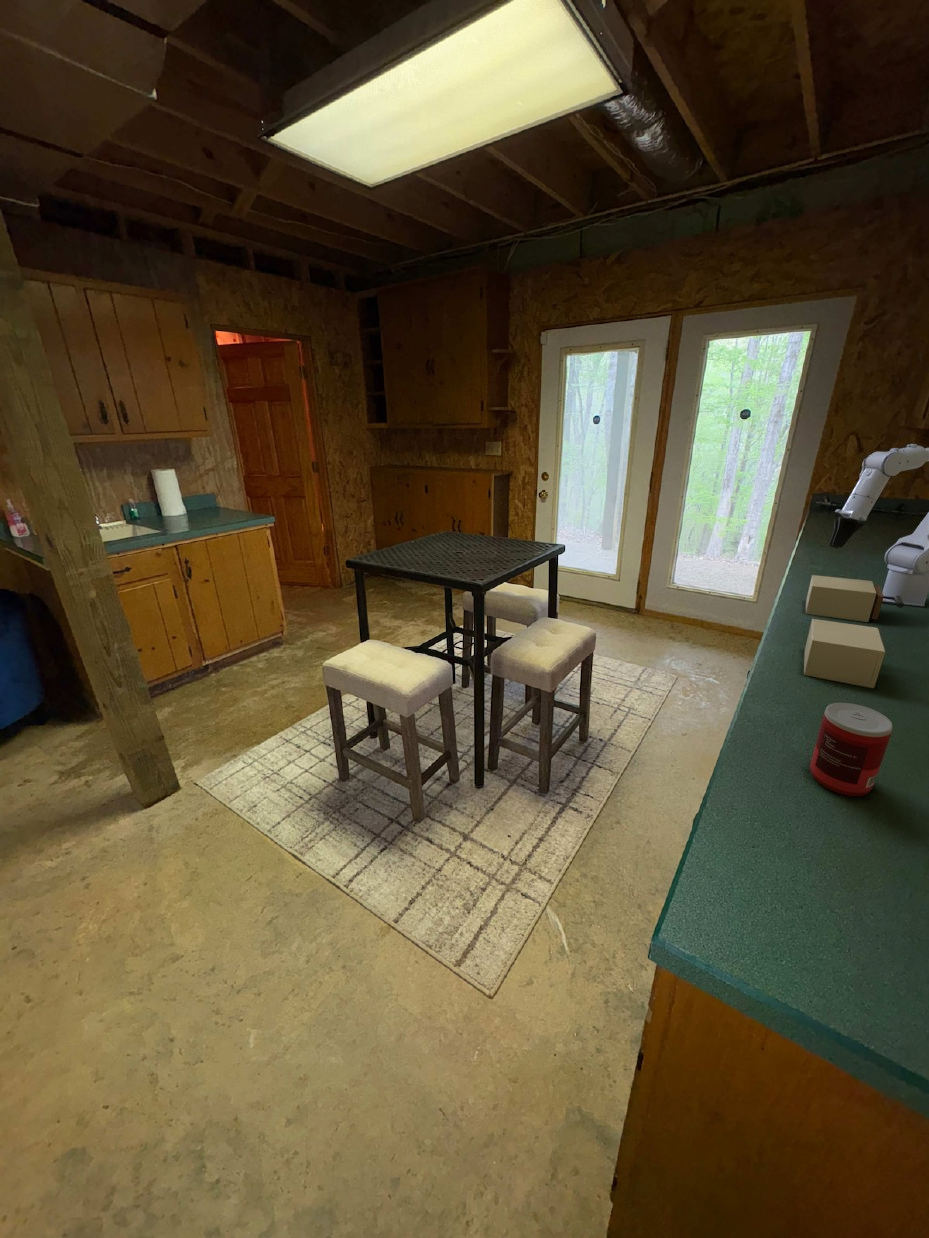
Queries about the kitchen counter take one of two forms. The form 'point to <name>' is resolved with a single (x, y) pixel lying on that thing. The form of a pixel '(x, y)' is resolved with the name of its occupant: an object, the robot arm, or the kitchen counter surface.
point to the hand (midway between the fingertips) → (834, 546)
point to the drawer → (883, 602)
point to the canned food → (850, 748)
